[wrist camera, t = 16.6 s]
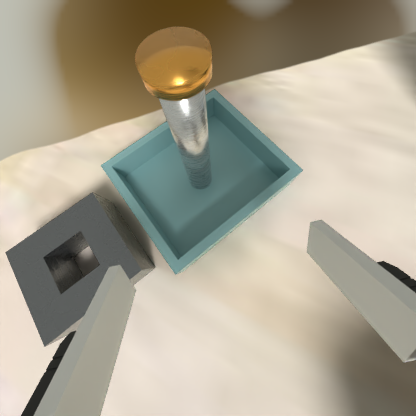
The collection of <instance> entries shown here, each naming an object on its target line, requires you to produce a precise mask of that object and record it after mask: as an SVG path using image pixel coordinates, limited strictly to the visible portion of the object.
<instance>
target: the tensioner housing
mask: <svg viewBox="0 0 416 416" xmlns="http://www.w3.org/2000/svg"><path fill="white" fill-rule="evenodd" d="M88 246H90V248H91V250H92V251H93V253H94V255H95V257H96V258H97V260H98V262H99V264H100V265H99V266H98V267H97V268H95V269H94V270H93V271H91V272H90V273H89V274H87V275H86V276H85V277H83V275H82V273H81V271H80V269H79V267H78V265H77V264H76V262H75V260H74V258H73V257H74V256H75V255H77V254H78V253H80V252H81V251H82V250H84V249H85V248H86V247H88ZM5 253H6V255H7V257H8V260H9V262H10V265H11V267H12V269H13V272H14V274H15V277H16V279H17V281H18V284H19V286H20V289H21V291H22V294H23V296H24V298H25V301H26V303H27V306H28V308H29V310H30V313H31V315H32V318H33V320H34V322H35V325H36V327H37V330H38V332H39V334H40V337H41V339H42V342H43V344H44V346H47V345H49V344H51V343H53V342H55V341H57V340H59V339H61V338H63V337H65V336H67V335H68V334H69V333H70V332H72V331H76V330H77V329H78V327H79V325H80V323H81V321H82V319H83V317H84V315H85V313H86V311H87V309H88V307H89V305H90V303H91V301H92V299H93V298H94V296H95V294H96V292H97V290H98V288H99V286H100V284H101V282H102V280H103V278H104V276H105V274H106V272H107V270H108V268H109V267H112V266H116V265H121V267H122V268H123V270H124V272H125V273H126V275H127V277H128V278H129V280H130V281H131V283H132V285H134V284H136V283H137V282H138V281H139V280H141V279H142V278H143V277H144V276H146V275H147V274H148V273H149V272H151V271H152V270H153V269H154V268H155V266H154V265H153V263H152V262H151V260H150V259H149V257H148V256H147V254H146V253H145V251H144V250H143V248H142V247H141V245H140V244H139V242H138V241H137V239H136V238H135V236H134V235H133V233H132V232H131V230H130V229H129V227H128V225H127V224H126V222H125V221H124V219H123V218H122V216H121V215H120V213H119V212H118V210H117V209H116V207H115V206H114V204H113V203H112V202H110V201H108V200H106V199H104V198H102V197H101V196H99V195H97V194H95V193H93V192H92V193H91V194H89V195H88V196H86V197H85V198H84V199H82V200H81V201H79V202H78V203H76V204H75V205H73V206H72V207H71V208H69V209H68V210H66V211H65V212H63V213H62V214H60V215H59V216H58V217H56V218H55V219H53V220H52V221H50V222H49V223H47V224H46V225H45V226H43V227H42V228H40V229H39V230H37V231H36V232H34V233H33V234H31V235H30V236H29V237H27V238H26V239H24V240H23V241H21V242H20V243H18V244H17V245H16V246H14V247H13V248H11V249H10V250H8V251H7V252H5Z"/></svg>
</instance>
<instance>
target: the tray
mask: <svg viewBox="0 0 416 416" xmlns="http://www.w3.org/2000/svg"><path fill="white" fill-rule="evenodd" d="M205 97H206V110H207V123H208V136H209V149H210V162H211V175H212V181H211V183H210V185H209V186H208V187H206V188H204V189H196V188H194V187H193V186H192V185H191V183H190V181H189V178H188V175H187V173H186V170H185V167H184V165H183V162H182V159H181V157H180V154H179V151H178V149H177V146H176V143H175V140H174V138H173V135H172V132H171V130H170V127H169V124H168V122H167V121H166V122H165V123H163V124H162V125H160V126H159V127H157V128H156V129H154V130H153V131H151V132H150V133H148V134H147V135H145V136H144V137H142V138H141V139H139V140H138V141H136V142H135V143H133V144H132V145H130V146H129V147H128V148H126V149H125V150H123V151H122V152H120V153H119V154H117V155H116V156H114V157H113V158H111V159H110V160H108V161H107V162H105V163H104V164H102V165H101V167H102V168H103V170H104V171H105V172H106V174H107V175H108V177H109V178H110V180H111V181H112V183H113V184H114V186H115V187H116V188H117V190H118V191H119V193H120V194H121V196H122V197H123V199H124V200H125V202H126V203H127V205H128V206H129V207H130V209H131V210H132V212H133V213H134V215H135V216H136V218H137V219H138V221H139V222H140V223H141V225H142V226H143V228H144V229H145V231H146V232H147V234H148V235H149V237H150V238H151V239H152V241H153V242H154V244H155V245H156V247H157V248H158V250H159V251H160V253H161V254H162V256H163V257H164V258H165V260H166V261H167V263H168V264H169V266H170V267H171V269H172V270H173V272H174V273H175V274H178V273H180V272H183V271H184V270H185V269H187V268H188V267H189V266H190V265H192V264H193V263H194V262H195V261H196V260H198V259H199V258H200V257H201V256H203V255H204V254H205V253H206V252H207V251H209V250H210V249H211V248H212V247H213V246H215V245H216V244H217V243H218V242H220V241H221V240H222V239H223V238H224V237H226V236H227V235H228V234H229V233H231V232H232V231H233V230H234V229H235V228H237V227H238V226H239V225H240V224H241V223H243V222H244V221H245V220H246V219H248V218H249V217H250V216H251V215H252V214H254V213H255V212H256V211H257V210H259V209H260V208H261V207H262V206H263V205H265V204H266V203H267V202H268V201H270V200H271V199H272V198H273V197H274V196H276V195H277V194H278V193H279V192H280V191H282V190H283V189H284V188H285V187H287V186H288V185H289V184H290V183H291V182H292V181H293V180H294V179H295V178H296V177H297V176H298V175H299V174H300V173H301V172H302V171H303V170H302V169H301V168H300V167H299V166H298V165H297V164H296V163H295V162H294V161H293V160H292V159H290V158H289V157H288V156H287V155H286V154H285V153H284V152H283V151H282V150H281V149H279V148H278V147H277V146H276V145H275V144H274V143H273V142H272V141H271V140H270V139H269V138H267V137H266V136H265V135H264V134H263V133H262V132H261V131H260V130H259V129H258V128H257V127H255V126H254V125H253V124H252V123H251V122H250V121H249V120H248V119H247V118H246V117H245V116H243V115H242V114H241V113H240V112H239V111H238V110H237V109H236V108H235V107H234V106H233V105H231V104H230V103H229V102H228V101H227V100H226V99H225V98H224V97H223V96H222V95H221V94H219V93H218V92H217V91H216V90H215V89H214V90H212V91H211V92H209V93H208V94H206V95H205Z"/></svg>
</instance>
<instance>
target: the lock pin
mask: <svg viewBox="0 0 416 416" xmlns="http://www.w3.org/2000/svg"><path fill="white" fill-rule="evenodd" d="M135 63H136V66H137V69H138V71H139V73H140V76H141V78H142V81H143V83H144V85H145V87H146V89H147V90H148V91H149V92H150V93H151V94H152V95H154V96H155V97H157V98H159V100H160V103H161V105H162V108H163V111H164V114H165V116H166V119H167V122H168V124H169V127H170V130H171V132H172V135H173V138H174V140H175V143H176V146H177V149H178V151H179V154H180V157H181V159H182V162H183V165H184V167H185V170H186V173H187V175H188V178H189V181H190V183H191V185H192V186H193V187H194V188H196V189H204V188H206V187H208V186H209V185H210V183H211V181H212V175H211V162H210V149H209V136H208V123H207V110H206V97H205V88H206V86H207V85H208V84H209V82H210V80H211V77H212V48H211V44H210V42H209V40H208V39H207V37H206V36H205V35H203V34H202V33H201V32H199V31H197V30H195V29H192V28H187V27H170V28H165V29H162V30H159V31H156V32H155V33H153V34H151V35H150V36H148V37H147V38H146V39H144V40H143V42H142V43H141V44H140V45H139V47H138V48H137V51H136V54H135Z"/></svg>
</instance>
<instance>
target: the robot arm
mask: <svg viewBox="0 0 416 416" xmlns="http://www.w3.org/2000/svg"><path fill="white" fill-rule="evenodd" d="M307 253H308V254H309V255H310V256H311V258H312V259H313V260H314V261H315V262H316V263H317V264H318V266H319V267H320V268H321V269H322V270H323V271H324V272H325V273H326V275H327V276H328V277H329V278H330V279H331V280H332V281H333V283H334V284H335V285H336V286H337V287H338V288H339V289H340V291H341V292H342V293H343V294H344V295H345V296H346V297H347V299H348V300H349V301H350V302H351V303H352V304H353V305H354V307H355V308H356V309H357V310H358V311H359V312H360V313H361V315H362V316H363V317H364V318H365V319H366V320H367V321H368V323H369V324H370V325H371V326H372V327H373V328H374V329H375V331H376V332H377V333H378V334H379V335H380V336H381V337H382V339H383V340H384V341H385V342H386V343H387V344H388V345H389V346H390V348H391V349H392V350H393V351H394V352H395V353H396V354H397V356H398V357H399V358H400V359H401V360H402V361H403V362H409V361H413V360H416V281H415V280H414V279H411V278H410V276H408V275H407V274H406V273H404V272H403V271H401V270H400V269H399V268H397V267H395V266H393V265H391V264H389V263H386V262H384V261H381V262H377V263H376V262H375V261H374V260H373V259H371V258H370V257H369V256H367V255H366V254H365V253H364V252H362V251H361V250H360V249H358V248H357V247H356V246H355V245H353V244H352V243H351V242H349V241H348V240H347V239H346V238H344V237H343V236H342V235H340V234H339V233H338V232H337V231H335V230H334V229H333V228H331V227H330V226H329V225H328V224H326V223H325V222H324V221H322V220H318V221H314V222H310V229H309V237H308V246H307ZM135 292H136V289H135V288H134V286H133V285H132V283H131V281H130V280H129V278H128V277H127V275H126V273H125V272H124V270H123V268H122V267H121V265H116V266H112V267H109V268H108V270H107V272H106V274H105V276H104V278H103V280H102V282H101V284H100V286H99V288H98V290H97V292H96V294H95V296H94V298H93V299H92V301H91V303H90V305H89V307H88V309H87V311H86V313H85V315H84V317H83V319H82V321H81V323H80V325H79V327H78V329H77V331H72V332H70V333H69V334H68V335H67V337H66V338H65V339H64V340H63V341H62V343H61V344H60V346H59V347H58V349H57V351H56V353H55V355H54V356H53V360H52V361H51V362H50V364H49V366H48V367H47V369H46V370H47V371H46V372H45V373H44V375H43V376H42V378H41V380H40V382H39V384H38V386H37V387H36V389H35V391H34V393H33V395H32V397H31V398H30V400H29V402H28V404H27V406H26V407H25V409H24V411H23V413H22V415H21V416H100V415H101V411H102V408H103V404H104V401H105V397H106V394H107V390H108V387H109V383H110V380H111V376H112V373H113V369H114V366H115V362H116V359H117V355H118V352H119V348H120V345H121V341H122V338H123V334H124V331H125V327H126V324H127V320H128V317H129V313H130V310H131V306H132V303H133V299H134V296H135Z"/></svg>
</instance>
